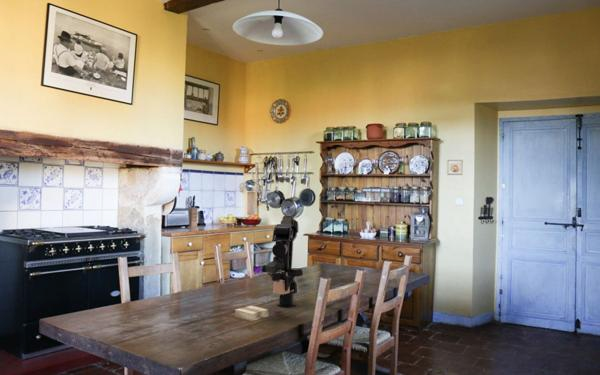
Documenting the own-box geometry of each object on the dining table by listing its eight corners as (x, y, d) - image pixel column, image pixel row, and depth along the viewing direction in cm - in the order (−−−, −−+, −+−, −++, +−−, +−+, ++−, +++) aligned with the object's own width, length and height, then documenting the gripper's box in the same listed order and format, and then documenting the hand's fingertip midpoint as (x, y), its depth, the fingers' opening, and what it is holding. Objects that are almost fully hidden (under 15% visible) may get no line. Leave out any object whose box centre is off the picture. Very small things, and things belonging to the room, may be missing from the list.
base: (251, 312, 213) (251, 305, 213) (268, 316, 207) (268, 309, 207) (235, 316, 205) (235, 309, 205) (251, 321, 199) (251, 313, 199)
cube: (280, 291, 212) (280, 279, 212) (289, 292, 209) (289, 281, 209) (273, 292, 208) (273, 281, 208) (282, 294, 205) (282, 282, 205)
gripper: (253, 253, 208) (252, 290, 208) (287, 258, 196) (286, 296, 196) (270, 251, 217) (269, 286, 216) (303, 255, 205) (302, 292, 205)
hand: (281, 290), depth 208 cm, fingers closed on cube, 5 cm apart
